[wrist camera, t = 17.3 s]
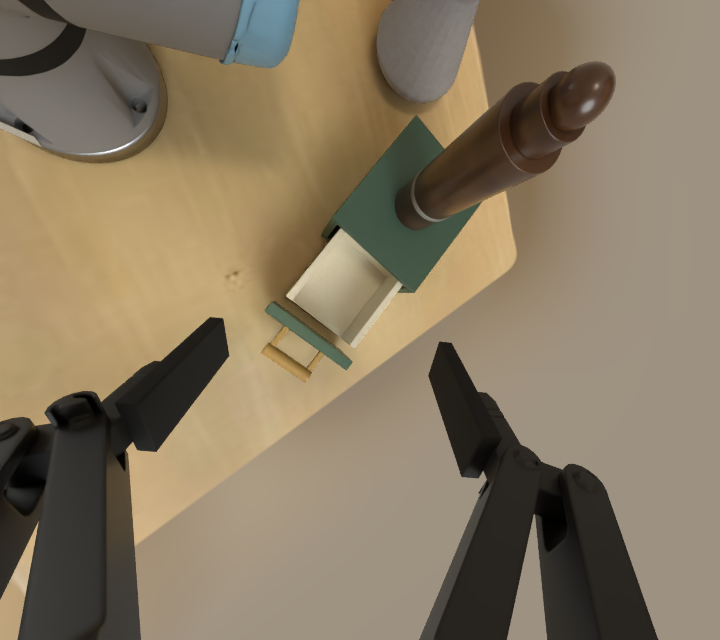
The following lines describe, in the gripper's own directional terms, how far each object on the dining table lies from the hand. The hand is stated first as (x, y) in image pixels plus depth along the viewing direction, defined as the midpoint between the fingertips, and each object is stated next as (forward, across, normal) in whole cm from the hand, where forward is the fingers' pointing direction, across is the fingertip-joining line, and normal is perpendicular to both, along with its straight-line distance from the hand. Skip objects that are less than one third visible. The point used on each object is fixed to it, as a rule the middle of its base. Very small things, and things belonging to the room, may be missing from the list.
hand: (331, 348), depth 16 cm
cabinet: (+25, +5, +4) cm, 26 cm away
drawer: (+17, -2, -6) cm, 18 cm away
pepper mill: (+18, +7, +7) cm, 21 cm away
